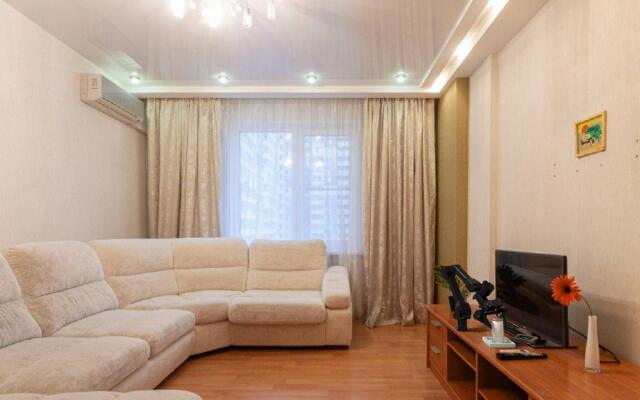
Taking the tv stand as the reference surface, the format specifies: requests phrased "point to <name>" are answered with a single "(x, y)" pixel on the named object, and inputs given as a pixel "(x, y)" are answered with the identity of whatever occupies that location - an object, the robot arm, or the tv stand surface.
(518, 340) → the collar
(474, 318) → the robot arm
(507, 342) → the tray
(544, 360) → the tv stand surface
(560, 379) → the tv stand surface
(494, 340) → the stop cylinder
